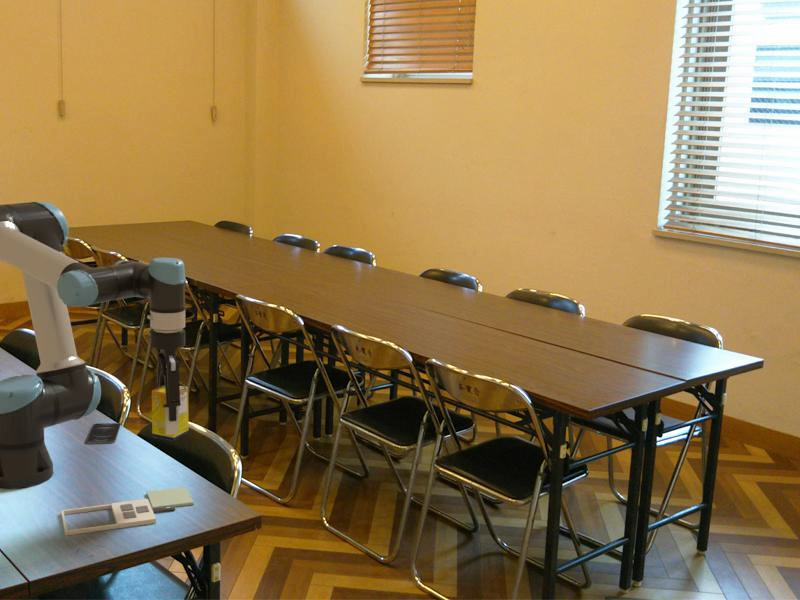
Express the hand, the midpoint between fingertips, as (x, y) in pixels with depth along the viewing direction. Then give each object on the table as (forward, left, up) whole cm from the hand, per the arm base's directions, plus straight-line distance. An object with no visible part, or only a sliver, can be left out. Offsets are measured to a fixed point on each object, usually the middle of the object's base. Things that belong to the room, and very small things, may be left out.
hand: (168, 427), depth 213 cm
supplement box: (0, 0, -2) cm, 2 cm away
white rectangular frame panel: (+6, -12, -17) cm, 22 cm away
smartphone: (-48, -9, -18) cm, 52 cm away
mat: (0, 0, -17) cm, 17 cm away
